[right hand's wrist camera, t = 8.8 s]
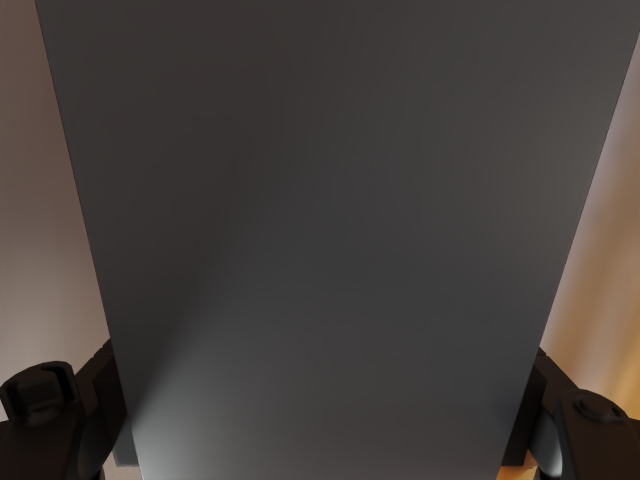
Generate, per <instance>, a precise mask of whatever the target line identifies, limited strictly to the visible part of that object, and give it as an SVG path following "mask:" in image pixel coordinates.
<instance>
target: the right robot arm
mask: <svg viewBox="0 0 640 480" xmlns="http://www.w3.org/2000/svg"><path fill="white" fill-rule="evenodd" d="M0 400H1V402H2V405H3V407H4V409H5V412H6V414H7V417H8V419H9V420H6V421H2V422H0V480H105V474H104V470H103V466H102V465H103V464H104V462H105V461H106V459H107V457H108V456H109V454H110V452H111V451H112V452H113V455H114V459H115V462H116V466H139V463H138V458H137V454H136V450H135V445H134V441H133V436H132V432H131V427H130V423H129V418H128V414H127V409H126V405H125V401H124V396H123V392H122V387H121V383H120V378H119V374H118V369H117V365H116V360H115V356H114V352H113V347H112V343H111V338H109V339H108V341H107V342H106V343H105V344H104V345H103V347H102V348H100V349H99V350H98V351H97V352H96V353H95V354H94V357H93V358H91V359H90V360H89V361H88V362H87V363H86V364H85V365H84V366H83V367H82V368H81V369H80V370H79V371H78V372H77V374H76V375H74V372H73V369H72V366H71V365H70V364H68V363H67V362H62V361H52V362H45V363H41V364H38V365H35V366H32V367H29V368H27V369H25V370H23V371H21V372H19V373H17V374H15V375H14V376H13V377H11V378H10V379H8V380H7V381H6V382H4V383H3V385H2V386H1V387H0ZM528 449H529V451H530V453H531V454H532V456H533V457H534V459H535V461H536V462H537V464H538V466H537V470H536V473H535V476H534V479H533V480H640V420H636V419H632V418H629V417H628V416H627V414H626V413H625V412H624V411H623V410H622V409H621V408H620V407H619V406H617V405H616V404H615V403H614V402H612V401H610V400H609V399H607V398H605V397H603V396H602V395H599V394H597V393H594V392H591V391H588V390H584V389H579V388H578V387H577V386H576V385H575V384H574V383H573V382H572V381H571V380H570V378H569V377H568V376H567V375H566V374H565V373H564V372H563V371H562V370H561V369H560V368H559V367H558V366H557V365H556V364H555V363H554V362H553V360H552V359H551V358H550V357H549V356H546V353H545V352H544V351H543V350H542V349H541V348H540V347H539V348H538V351H537V354H536V358H535V361H534V364H533V367H532V370H531V373H530V376H529V379H528V383H527V386H526V389H525V392H524V395H523V398H522V401H521V404H520V408H519V411H518V414H517V417H516V420H515V423H514V426H513V429H512V433H511V436H510V439H509V442H508V445H507V448H506V451H505V454H504V458H503V461H502V464H501V466H523V465H524V461H525V458H526V454H527V451H528Z"/></svg>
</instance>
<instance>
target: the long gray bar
mask: <svg viewBox="0 0 640 480" xmlns="http://www.w3.org/2000/svg"><path fill="white" fill-rule="evenodd" d="M35 4H36V9H37V13H38V17H39V22H40V26H41V31H42V35H43V40H44V44H45V49H46V53H47V58H48V62H49V66H50V71H51V75H52V80H53V84H54V89H55V93H56V98H57V102H58V107H59V111H60V115H61V120H62V124H63V129H64V133H65V138H66V142H67V147H68V151H69V156H70V160H71V164H72V169H73V173H74V178H75V182H76V187H77V191H78V196H79V200H80V205H81V209H82V213H83V218H84V222H85V227H86V231H87V236H88V240H89V245H90V249H91V254H92V258H93V262H94V267H95V271H96V276H97V280H98V285H99V289H100V294H101V298H102V303H103V307H104V311H105V316H106V320H107V325H108V329H109V334H110V338H111V343H112V347H113V352H114V356H115V360H116V365H117V369H118V374H119V378H120V383H121V387H122V392H123V396H124V401H125V405H126V409H127V414H128V418H129V423H130V427H131V432H132V436H133V441H134V445H135V450H136V454H137V458H138V463H139V467H140V472H141V476H142V480H496V479H497V476H498V473H499V470H500V467H501V464H502V461H503V458H504V454H505V451H506V448H507V445H508V442H509V439H510V436H511V433H512V429H513V426H514V423H515V420H516V417H517V414H518V411H519V408H520V404H521V401H522V398H523V395H524V392H525V389H526V386H527V383H528V379H529V376H530V373H531V370H532V367H533V364H534V361H535V358H536V354H537V351H538V348H539V345H540V342H541V339H542V336H543V333H544V329H545V326H546V323H547V320H548V317H549V314H550V311H551V308H552V304H553V301H554V298H555V295H556V292H557V289H558V286H559V283H560V279H561V276H562V273H563V270H564V267H565V264H566V261H567V258H568V254H569V251H570V248H571V245H572V242H573V239H574V236H575V233H576V229H577V226H578V223H579V220H580V217H581V214H582V211H583V208H584V204H585V201H586V198H587V195H588V192H589V189H590V186H591V183H592V179H593V176H594V173H595V170H596V167H597V164H598V161H599V158H600V154H601V151H602V148H603V145H604V142H605V139H606V136H607V133H608V129H609V126H610V123H611V120H612V117H613V114H614V111H615V108H616V104H617V101H618V98H619V95H620V92H621V89H622V86H623V83H624V79H625V76H626V73H627V70H628V67H629V64H630V61H631V58H632V54H633V51H634V48H635V45H636V42H637V39H638V36H639V33H640V0H35Z"/></svg>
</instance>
